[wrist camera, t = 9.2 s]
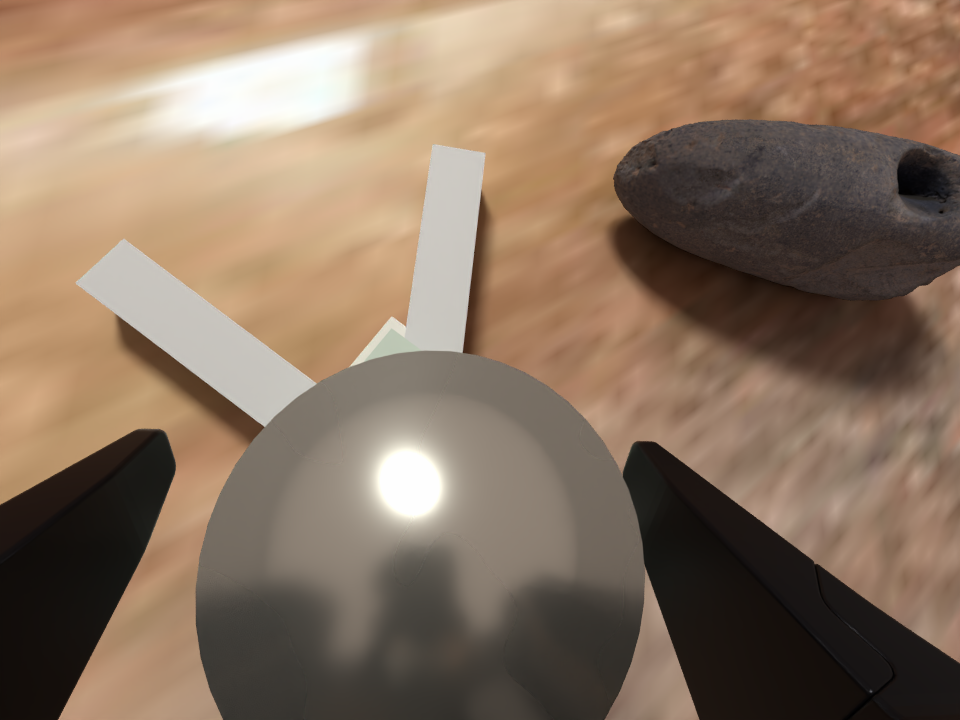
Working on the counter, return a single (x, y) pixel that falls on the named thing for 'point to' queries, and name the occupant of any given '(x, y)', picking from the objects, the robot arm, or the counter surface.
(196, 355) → the shaft rig
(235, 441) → the counter surface
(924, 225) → the perforated stone tool
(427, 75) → the counter surface
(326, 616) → the shiny grey metal cylinder
